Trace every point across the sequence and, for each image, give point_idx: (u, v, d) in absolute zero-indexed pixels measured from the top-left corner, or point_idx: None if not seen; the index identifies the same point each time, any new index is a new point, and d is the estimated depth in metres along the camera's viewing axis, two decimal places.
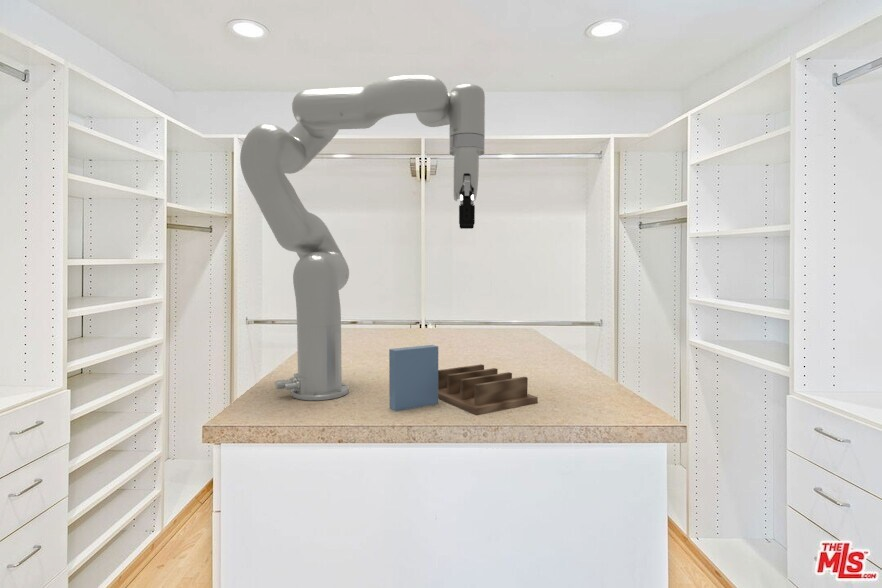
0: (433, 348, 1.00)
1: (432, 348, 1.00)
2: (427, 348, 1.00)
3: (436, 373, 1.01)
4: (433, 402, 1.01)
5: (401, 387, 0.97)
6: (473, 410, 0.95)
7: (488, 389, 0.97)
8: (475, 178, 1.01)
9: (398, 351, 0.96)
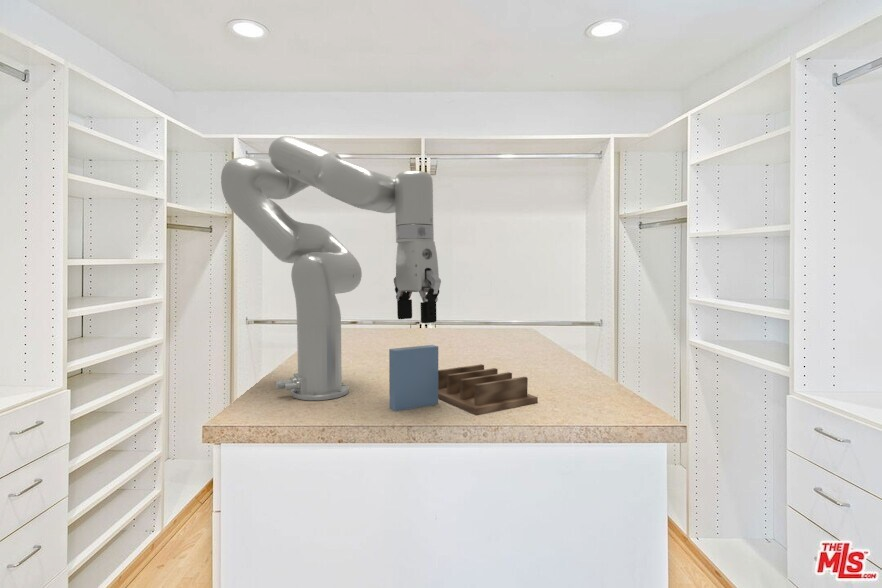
0: (433, 348, 1.00)
1: (432, 348, 1.00)
2: (427, 348, 1.00)
3: (436, 373, 1.01)
4: (433, 402, 1.01)
5: (401, 387, 0.97)
6: (473, 410, 0.95)
7: (488, 389, 0.97)
8: None
9: (398, 351, 0.96)
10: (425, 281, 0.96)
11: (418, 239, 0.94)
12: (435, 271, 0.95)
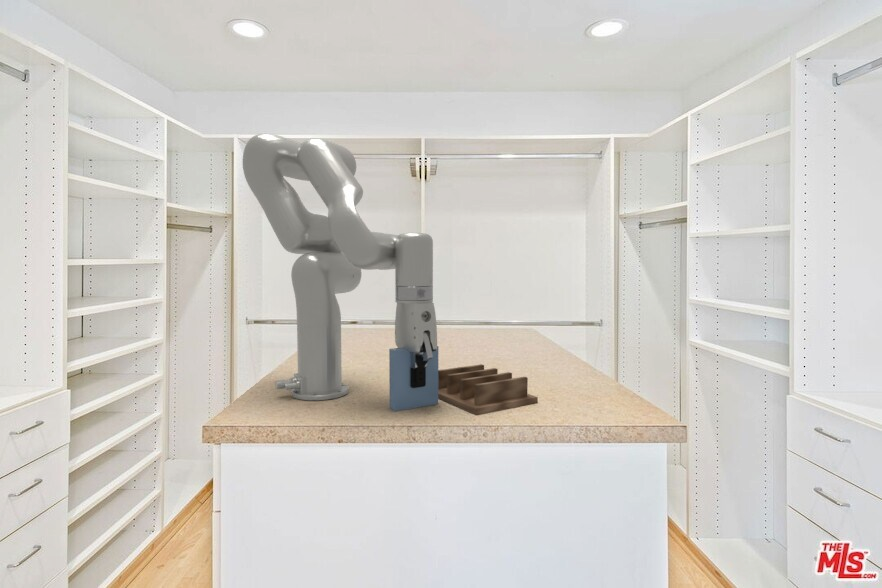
0: None
1: None
2: None
3: (436, 373, 1.01)
4: (433, 401, 1.01)
5: (401, 387, 0.97)
6: (473, 410, 0.95)
7: (488, 389, 0.97)
8: None
9: (398, 351, 0.96)
10: None
11: (417, 301, 0.95)
12: (434, 333, 0.96)
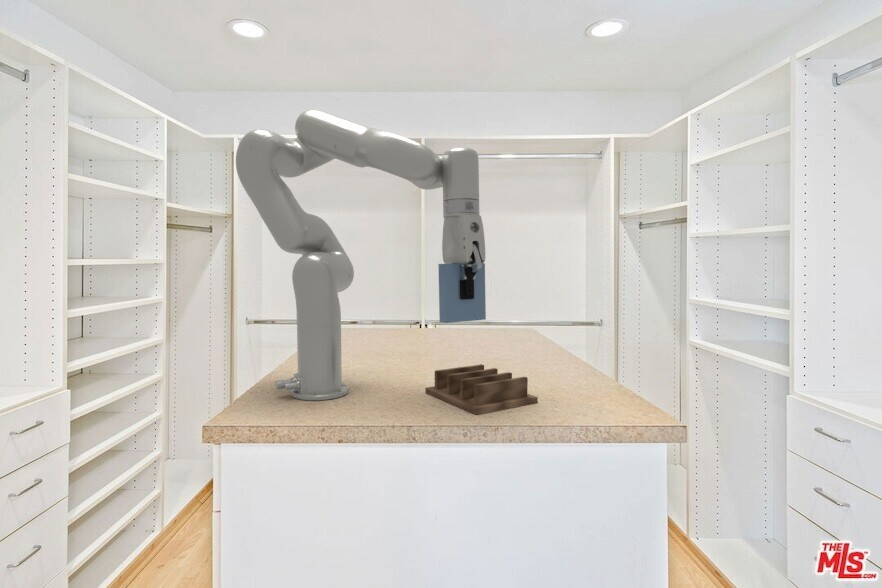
0: None
1: None
2: None
3: (483, 289, 1.04)
4: (480, 317, 1.04)
5: (451, 300, 1.00)
6: (473, 410, 0.95)
7: (488, 389, 0.97)
8: None
9: (447, 264, 0.99)
10: None
11: (466, 213, 0.98)
12: (482, 244, 0.99)
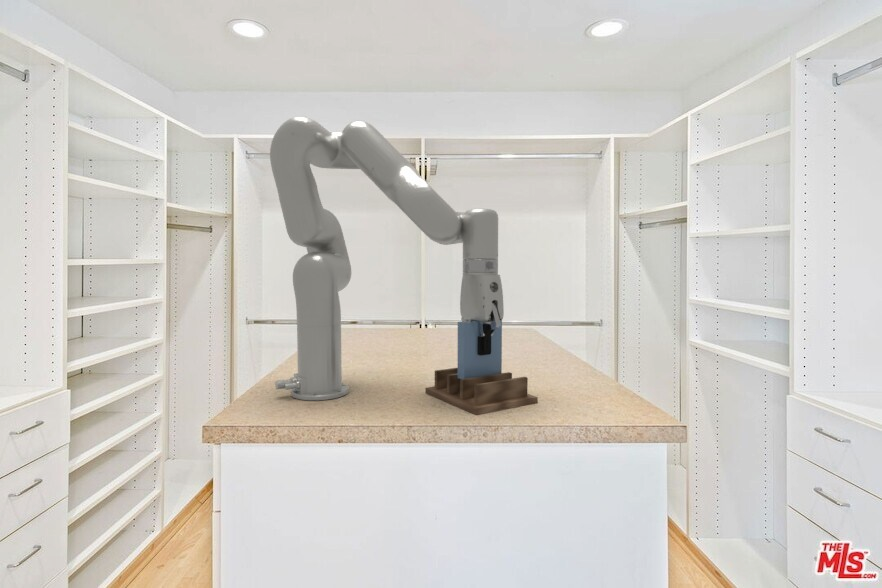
0: None
1: None
2: None
3: (500, 345, 1.07)
4: (497, 372, 1.07)
5: (469, 358, 1.03)
6: (473, 410, 0.95)
7: (488, 389, 0.97)
8: None
9: (467, 323, 1.02)
10: None
11: (486, 273, 1.01)
12: (501, 303, 1.02)
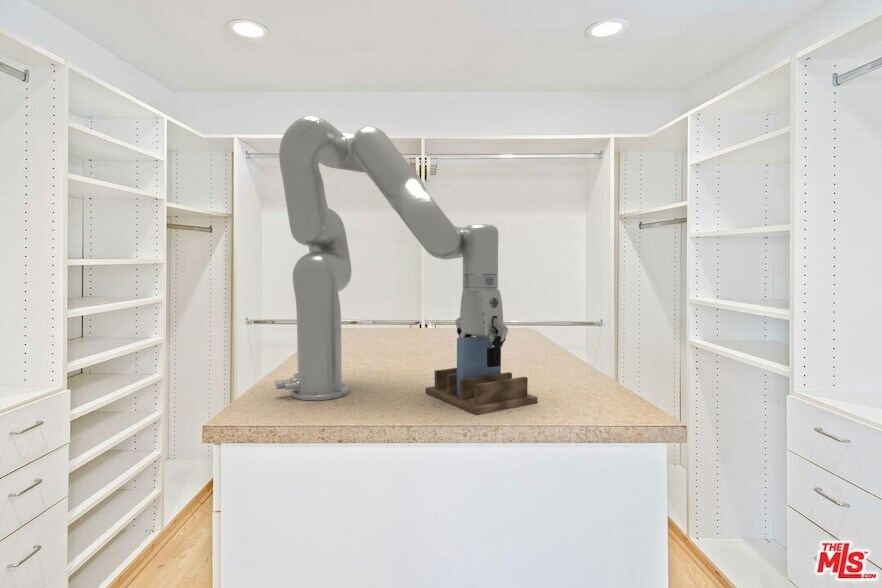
0: None
1: None
2: None
3: None
4: None
5: (468, 374, 1.03)
6: (473, 410, 0.95)
7: (488, 389, 0.97)
8: None
9: (466, 340, 1.02)
10: (490, 327, 1.03)
11: (485, 288, 1.01)
12: (500, 318, 1.02)
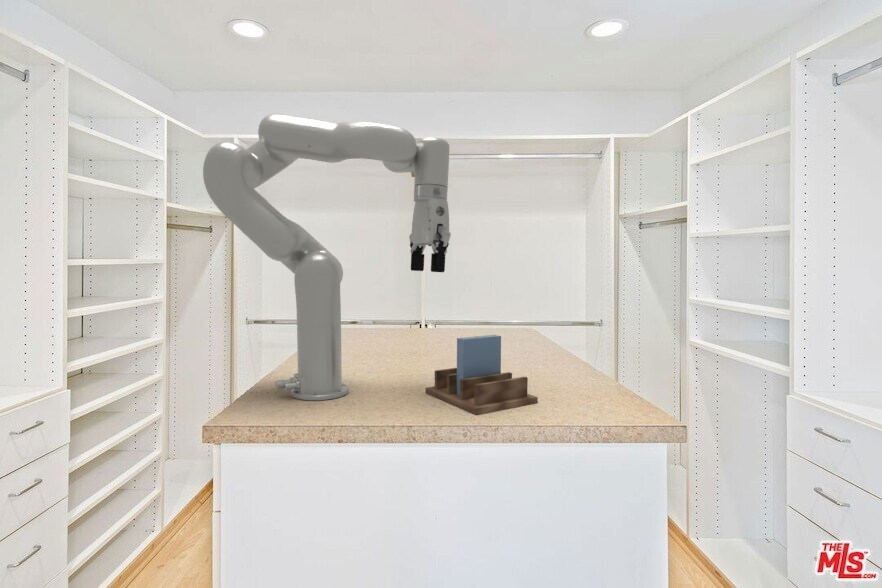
0: (496, 337, 1.07)
1: (496, 337, 1.06)
2: (491, 337, 1.06)
3: (499, 361, 1.07)
4: None
5: (468, 374, 1.03)
6: (473, 410, 0.95)
7: (488, 389, 0.97)
8: None
9: (466, 340, 1.02)
10: (437, 236, 1.09)
11: (433, 198, 1.07)
12: (446, 227, 1.08)
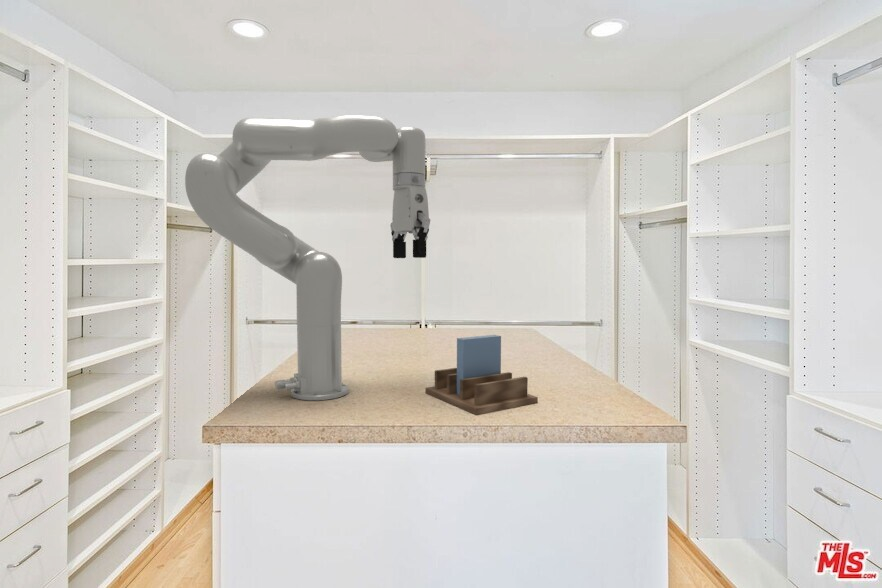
0: (496, 337, 1.07)
1: (496, 337, 1.06)
2: (491, 337, 1.06)
3: (499, 361, 1.07)
4: None
5: (468, 374, 1.03)
6: (473, 410, 0.95)
7: (488, 389, 0.97)
8: None
9: (466, 340, 1.02)
10: (417, 222, 1.12)
11: (412, 186, 1.10)
12: (426, 213, 1.11)
